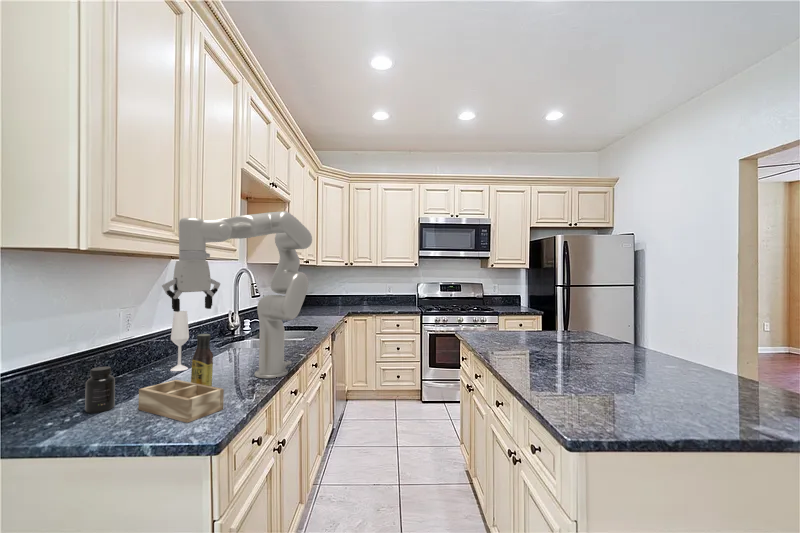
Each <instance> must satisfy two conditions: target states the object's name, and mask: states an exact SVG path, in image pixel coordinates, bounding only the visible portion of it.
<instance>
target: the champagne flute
mask: <svg viewBox="0 0 800 533" xmlns="http://www.w3.org/2000/svg"><path fill="white" fill-rule="evenodd" d="M189 339H190V332H189V318H188V311H187V310H180V311H179V312H175V311H173V317H172V326H171V333H170V340H171V342H172V343H174V344H175V345H176V346H177V348H178V349H177V364H176V365H175V366H174V367H172V368H170V370H169V371H171V372H181V371H187V370H188V369H189V367H187V366H185V365H184V364H182V346H183V345H184V344H186V342H187V341H189Z"/></svg>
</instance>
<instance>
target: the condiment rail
mask: <svg viewBox="0 0 800 533" xmlns="http://www.w3.org/2000/svg"><path fill="white" fill-rule="evenodd" d="M224 391H225V389H224V388H223V387H216V386H212V387H211V386H206V385H201V384H196V383H191V381H185V380H179V379H173V380H170V381H165V382H162V383H157V384H154V385H149V386H145V387H141V388H139V389H138V404H137V405H138V408H137V409H138V410H139V411H142V412H145V413H150V414H153V415H157V416H161V417H164V418H168V419H172V420H176V421H179V422H183V423H187V424H188V423H190V422H193V421H196V420H198V419H202V418H205V417H206V416H210V415H212V414H215V413H217V412H220V411H223V410H224V402H225V401H224V400H225V399H224V395H225V394H224Z"/></svg>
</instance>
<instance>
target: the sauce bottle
mask: <svg viewBox="0 0 800 533" xmlns="http://www.w3.org/2000/svg"><path fill="white" fill-rule="evenodd" d="M211 336H212V335H211V334H210V333H200V334H197V336H196V340H197V341H196V342H197V344H196V349H195V351H194V354H193V356H192V359H191V372H190V382H191V383H196V384H201V385H206V386H211V387H213V371H214V370H213V369H214V368H213V367H214V362H213V361H214V354H213V352H212V350H211V348H210V347H211V345H210V344H211Z"/></svg>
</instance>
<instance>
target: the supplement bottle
mask: <svg viewBox="0 0 800 533" xmlns="http://www.w3.org/2000/svg"><path fill="white" fill-rule="evenodd" d="M89 373H90V374H89V377H90V378H89V379H87V380H86V381H85V390H84V391H85V392H84V393H85V394H84V395H85V396H84V397H85V399H84V401H85V402H84V403H85V404H84V411H85V412H86V413H88V414H99V413H103V412H107V411H110V410H112V409H113V408H114V407H115V402H116V398H115V397H116V377H114V375H112V367H111V366H98V367H93V368H91V369H90V371H89ZM98 412H99V413H98Z"/></svg>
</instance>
